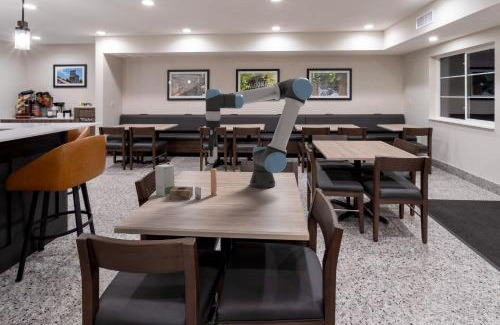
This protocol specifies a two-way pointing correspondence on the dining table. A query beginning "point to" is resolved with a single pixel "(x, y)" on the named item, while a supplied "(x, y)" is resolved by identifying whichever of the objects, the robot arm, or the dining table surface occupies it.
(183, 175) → the dining table surface
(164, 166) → the skincare box
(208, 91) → the robot arm
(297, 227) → the dining table surface
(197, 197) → the short pin
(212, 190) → the long pin
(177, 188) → the socket block
